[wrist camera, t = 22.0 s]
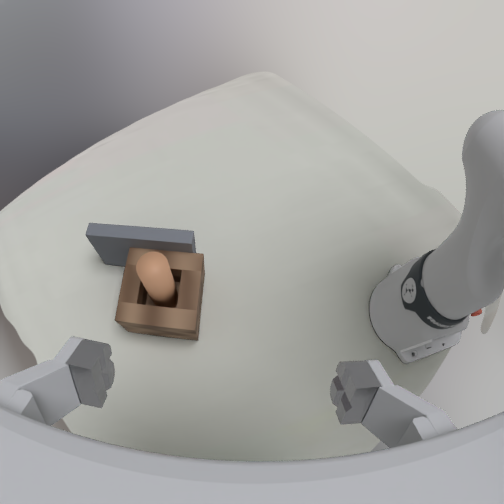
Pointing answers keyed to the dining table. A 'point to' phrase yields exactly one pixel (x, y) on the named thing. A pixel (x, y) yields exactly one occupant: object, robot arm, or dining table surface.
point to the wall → (136, 240)
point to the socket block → (163, 318)
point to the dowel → (157, 279)
